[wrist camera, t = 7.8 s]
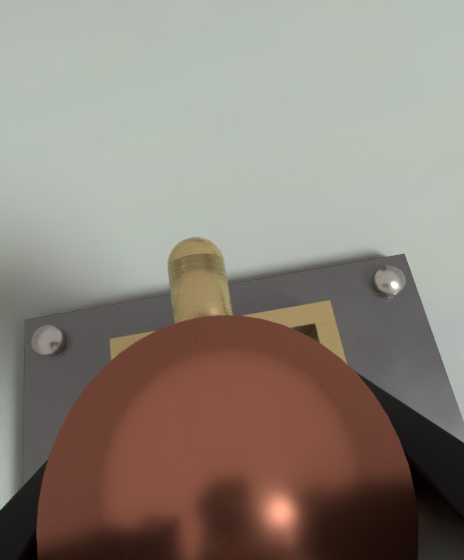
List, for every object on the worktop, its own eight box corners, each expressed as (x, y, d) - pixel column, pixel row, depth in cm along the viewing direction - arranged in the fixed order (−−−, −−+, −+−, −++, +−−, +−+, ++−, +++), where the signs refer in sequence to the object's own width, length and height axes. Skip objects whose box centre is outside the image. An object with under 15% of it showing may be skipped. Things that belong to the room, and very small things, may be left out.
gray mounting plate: (503, 574, 18) (562, 611, 14) (34, 663, 17) (-16, 722, 14) (396, 261, 23) (421, 236, 20) (36, 324, 23) (-1, 309, 19)
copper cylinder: (325, 511, 14) (481, 710, 5) (179, 538, 14) (35, 796, 5) (282, 316, 17) (327, 188, 7) (158, 338, 16) (38, 237, 7)
